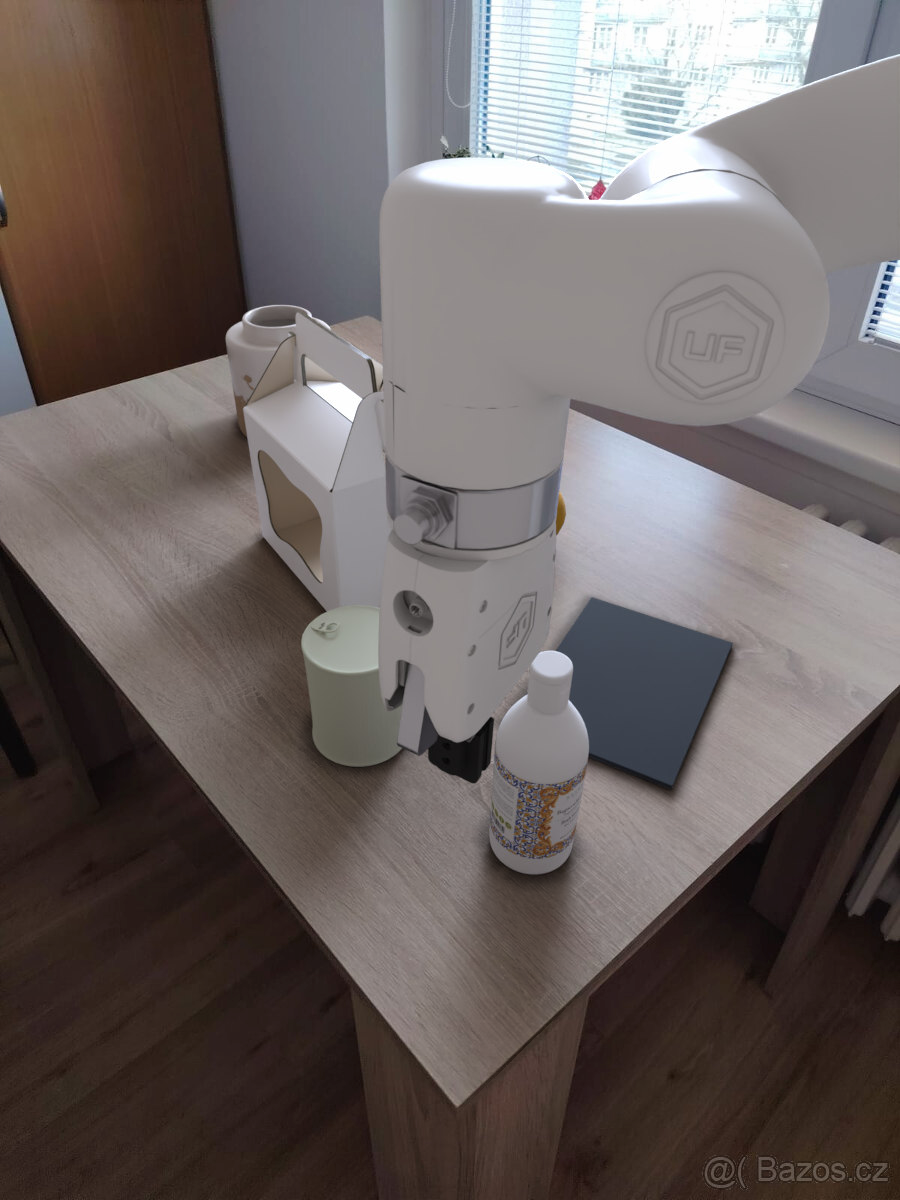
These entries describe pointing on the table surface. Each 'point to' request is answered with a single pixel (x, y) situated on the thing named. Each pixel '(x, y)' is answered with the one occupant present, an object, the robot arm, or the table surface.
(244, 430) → the vase
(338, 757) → the can
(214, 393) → the table surface
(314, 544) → the gable box
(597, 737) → the mat
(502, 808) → the bath foam
